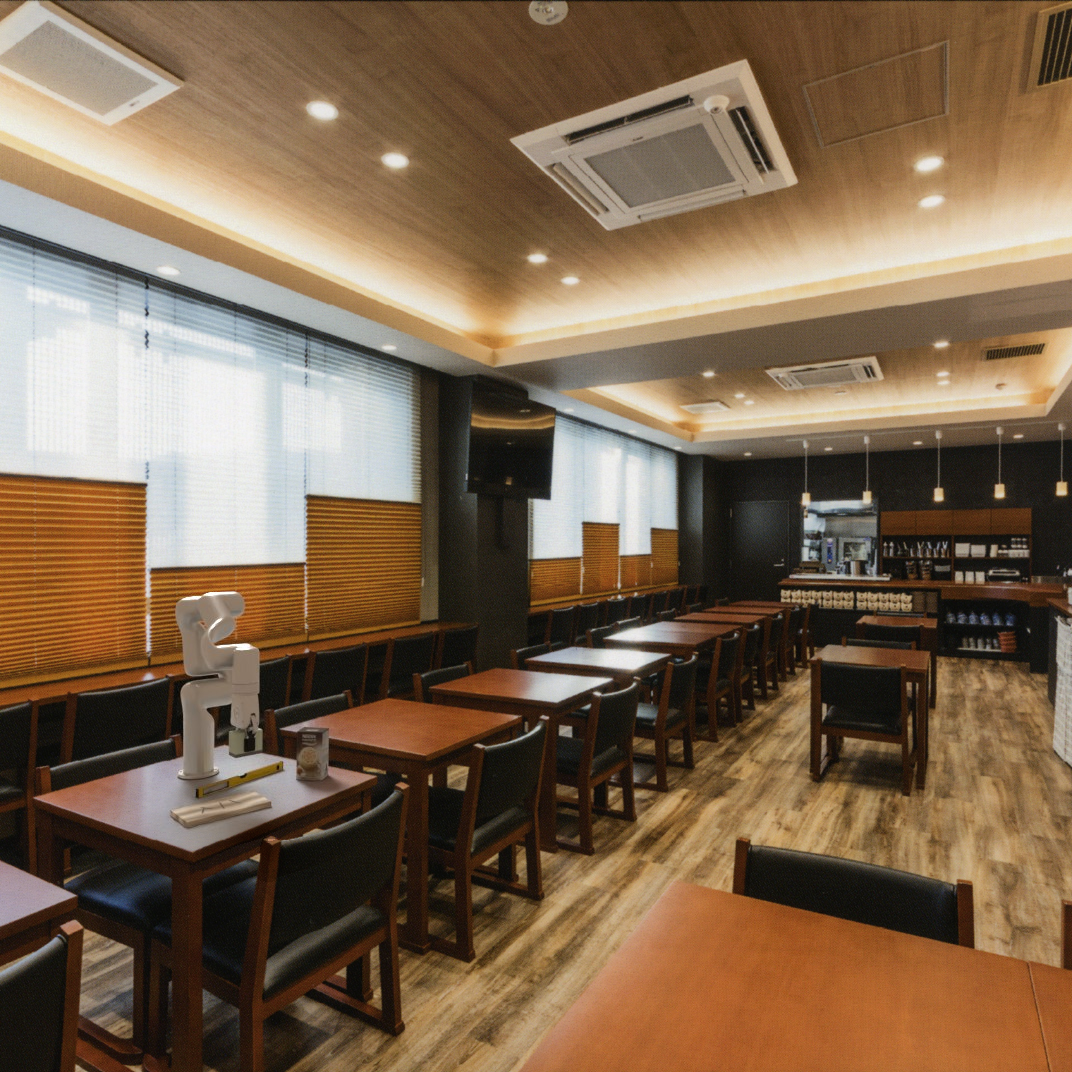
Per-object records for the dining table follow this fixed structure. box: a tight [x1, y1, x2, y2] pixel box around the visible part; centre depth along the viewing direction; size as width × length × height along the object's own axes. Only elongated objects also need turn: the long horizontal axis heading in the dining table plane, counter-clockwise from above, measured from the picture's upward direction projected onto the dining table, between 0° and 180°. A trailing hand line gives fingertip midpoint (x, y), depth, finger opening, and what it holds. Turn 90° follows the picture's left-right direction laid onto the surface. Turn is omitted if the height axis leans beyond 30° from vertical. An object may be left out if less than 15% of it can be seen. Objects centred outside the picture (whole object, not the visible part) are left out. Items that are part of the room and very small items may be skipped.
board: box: [170, 790, 272, 829], centre depth 215 cm, size 13×24×2 cm, turn 134°
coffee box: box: [295, 726, 330, 781], centre depth 246 cm, size 9×6×16 cm
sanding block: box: [228, 727, 263, 759], centre depth 220 cm, size 5×8×7 cm, turn 134°
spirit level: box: [195, 760, 284, 799], centre depth 240 cm, size 33×1×3 cm, turn 151°
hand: (245, 748), depth 220 cm, fingers closed on sanding block, 5 cm apart
